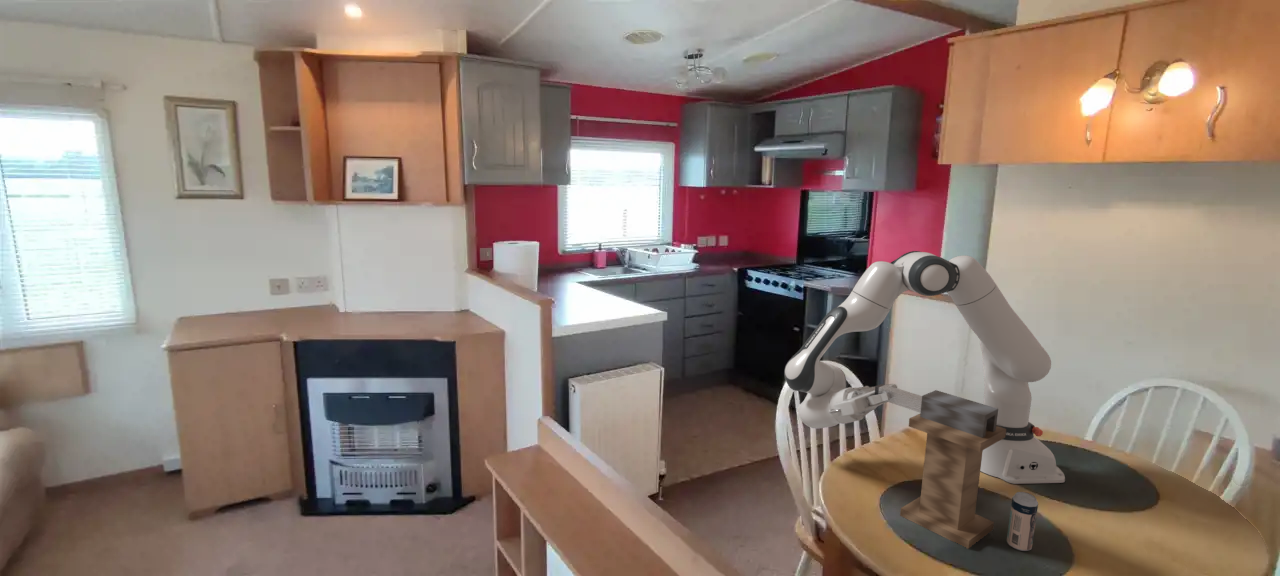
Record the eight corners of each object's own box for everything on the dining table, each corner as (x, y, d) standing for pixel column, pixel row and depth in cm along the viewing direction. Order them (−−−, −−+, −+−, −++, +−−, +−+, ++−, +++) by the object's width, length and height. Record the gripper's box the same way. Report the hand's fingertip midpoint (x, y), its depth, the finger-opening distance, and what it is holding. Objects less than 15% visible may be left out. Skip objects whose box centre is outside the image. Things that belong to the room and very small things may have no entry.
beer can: (1035, 553, 130) (1042, 503, 128) (1011, 551, 131) (1018, 501, 129) (1026, 540, 135) (1033, 492, 132) (1002, 538, 136) (1009, 489, 133)
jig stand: (900, 515, 144) (911, 397, 139) (926, 499, 151) (938, 386, 146) (968, 548, 132) (983, 420, 126) (993, 529, 139) (1009, 407, 133)
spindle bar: (874, 397, 152) (875, 386, 151) (881, 394, 153) (882, 383, 153) (962, 427, 134) (964, 414, 134) (969, 423, 136) (970, 411, 135)
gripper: (821, 402, 154) (864, 390, 143) (867, 385, 166) (910, 373, 155) (830, 426, 153) (874, 416, 142) (875, 407, 165) (920, 397, 154)
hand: (893, 393), depth 149 cm, fingers closed on spindle bar, 3 cm apart
